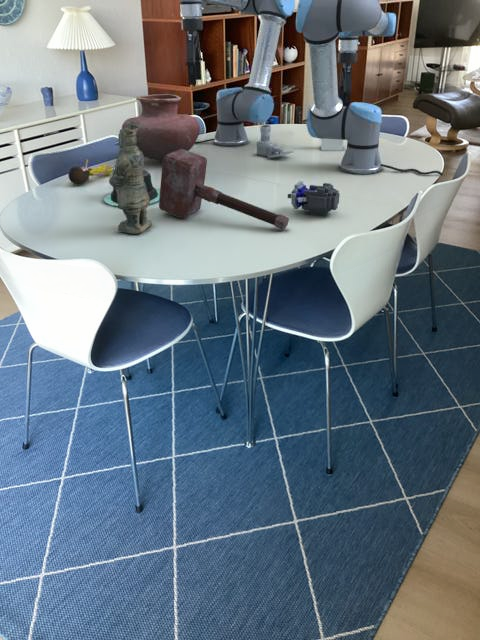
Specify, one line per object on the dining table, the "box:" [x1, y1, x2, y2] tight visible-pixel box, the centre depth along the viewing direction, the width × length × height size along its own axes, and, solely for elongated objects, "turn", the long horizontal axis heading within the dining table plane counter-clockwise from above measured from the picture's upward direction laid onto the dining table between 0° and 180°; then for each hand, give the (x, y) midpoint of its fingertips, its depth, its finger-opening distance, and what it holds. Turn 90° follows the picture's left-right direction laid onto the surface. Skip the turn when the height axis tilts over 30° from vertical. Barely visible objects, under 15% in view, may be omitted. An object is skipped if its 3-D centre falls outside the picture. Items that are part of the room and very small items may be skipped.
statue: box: [108, 121, 153, 235], centre depth 154 cm, size 11×9×30 cm
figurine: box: [67, 158, 115, 186], centre depth 207 cm, size 13×8×25 cm
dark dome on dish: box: [103, 168, 160, 207], centre depth 186 cm, size 15×19×20 cm
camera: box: [256, 124, 295, 159], centre depth 227 cm, size 9×12×15 cm
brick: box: [320, 139, 344, 151], centre depth 238 cm, size 9×6×9 cm
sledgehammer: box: [158, 149, 290, 231], centre depth 163 cm, size 17×10×40 cm
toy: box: [287, 180, 341, 216], centre depth 168 cm, size 9×9×15 cm
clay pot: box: [121, 93, 201, 163], centre depth 222 cm, size 30×30×25 cm
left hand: (195, 82), depth 209 cm, fingers open, 13 cm apart
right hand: (343, 108), depth 230 cm, fingers open, 13 cm apart
